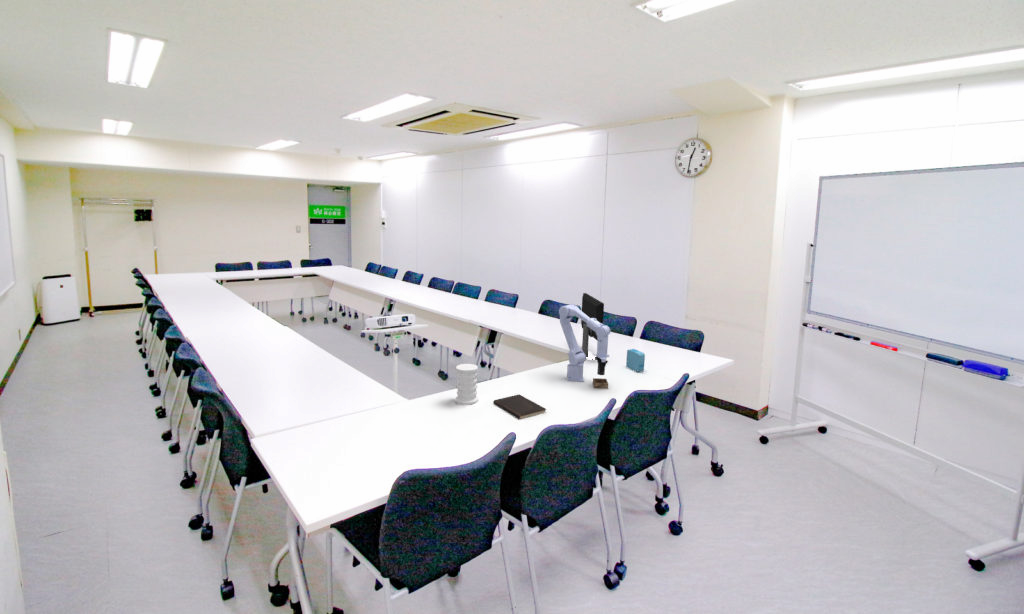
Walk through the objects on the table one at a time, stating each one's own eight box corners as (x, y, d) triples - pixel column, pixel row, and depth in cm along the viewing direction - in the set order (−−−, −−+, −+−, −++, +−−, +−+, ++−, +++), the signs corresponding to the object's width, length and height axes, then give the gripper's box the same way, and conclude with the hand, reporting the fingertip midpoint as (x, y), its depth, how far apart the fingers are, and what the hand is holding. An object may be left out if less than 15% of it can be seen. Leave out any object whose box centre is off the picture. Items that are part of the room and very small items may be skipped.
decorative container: (478, 396, 257) (479, 363, 253) (477, 405, 245) (477, 370, 242) (456, 396, 257) (456, 363, 253) (454, 404, 245) (454, 370, 242)
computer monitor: (604, 364, 315) (607, 303, 308) (591, 364, 314) (594, 303, 307) (586, 347, 355) (588, 293, 348) (574, 347, 354) (577, 293, 347)
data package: (643, 372, 302) (645, 353, 300) (637, 372, 300) (639, 354, 298) (631, 366, 313) (632, 348, 310) (625, 367, 311) (627, 349, 309)
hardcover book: (519, 398, 257) (519, 394, 256) (546, 413, 238) (546, 408, 238) (493, 404, 248) (493, 400, 247) (519, 420, 229) (519, 416, 229)
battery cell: (597, 375, 273) (598, 363, 272) (596, 372, 277) (597, 360, 276) (605, 375, 273) (605, 363, 271) (604, 373, 277) (604, 361, 275)
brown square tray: (594, 387, 273) (594, 382, 272) (592, 383, 280) (592, 378, 279) (607, 388, 272) (608, 383, 272) (606, 383, 280) (606, 378, 279)
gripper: (611, 351, 265) (610, 375, 267) (607, 344, 279) (606, 366, 281) (598, 350, 265) (597, 374, 267) (595, 343, 279) (594, 366, 282)
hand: (601, 370), depth 274 cm, fingers closed on battery cell, 4 cm apart
